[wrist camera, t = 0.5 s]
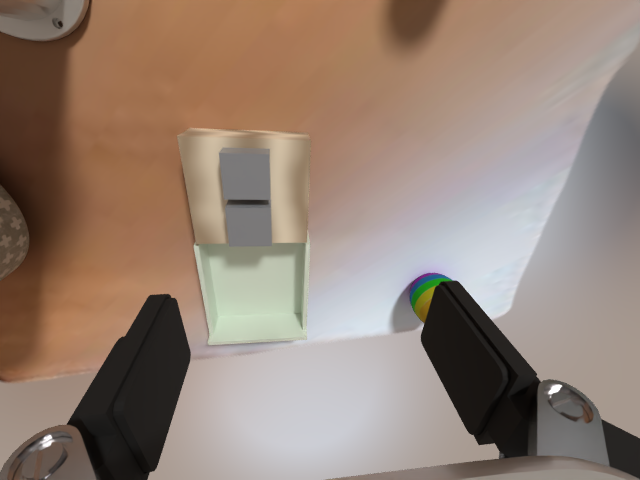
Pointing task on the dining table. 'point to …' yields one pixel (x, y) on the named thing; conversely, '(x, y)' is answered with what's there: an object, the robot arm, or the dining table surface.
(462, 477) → the robot arm
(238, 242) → the tile rear
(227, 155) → the tile front
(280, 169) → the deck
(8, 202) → the planter
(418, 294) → the decorative egg
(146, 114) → the dining table surface
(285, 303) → the tray
